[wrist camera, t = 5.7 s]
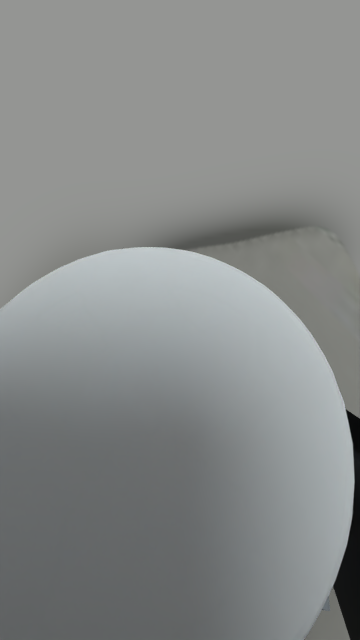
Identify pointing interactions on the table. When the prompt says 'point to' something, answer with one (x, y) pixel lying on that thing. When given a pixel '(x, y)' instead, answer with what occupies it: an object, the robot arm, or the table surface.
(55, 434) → the supplement bottle
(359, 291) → the table surface
